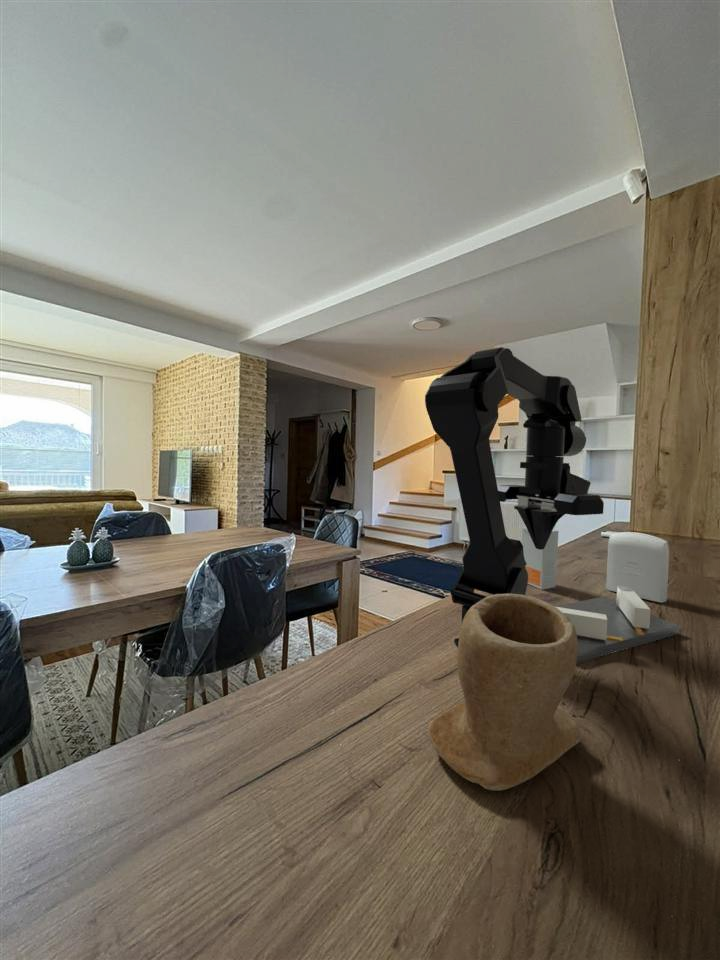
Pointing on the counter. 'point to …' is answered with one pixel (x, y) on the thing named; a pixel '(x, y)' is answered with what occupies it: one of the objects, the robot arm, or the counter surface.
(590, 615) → the white rectangular block
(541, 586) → the skincare box
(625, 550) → the photo printer
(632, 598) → the off-white long bar
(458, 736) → the stone cup
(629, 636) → the levelling base
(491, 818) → the counter surface
